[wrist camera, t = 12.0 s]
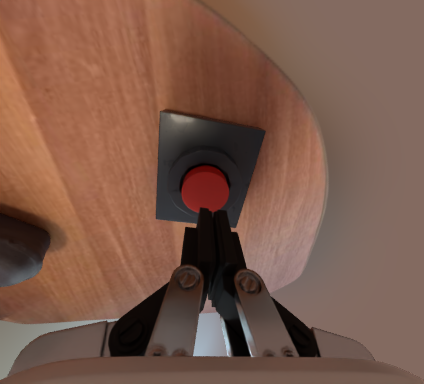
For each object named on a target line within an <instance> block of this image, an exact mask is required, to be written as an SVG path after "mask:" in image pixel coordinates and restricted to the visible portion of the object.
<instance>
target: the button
mask: <svg viewBox="0 0 424 384" xmlns="http://www.w3.org/2000/svg"><path fill="white" fill-rule="evenodd" d="M181 194H182V199H183V201H184V203H185V204H186V206H187V207H188V208H190V209H191V210H193V211H195V212H198V213H199V210H200V207H202V208H209V211H212V212H214V211H217V210H218V209H220V208H222V207H223V206H224V205H225V203H226V202H227V200H228V197H229V188H228V184H227V181H226V178H225V176H224V174H223V173H222V172H221V171H220V170H219V169H217V168H215V167H213V166H209V165H201V166H197V167H195V168H193V169H191V170H190V171H189V172H188V173H187V174H186V176H185V178H184V181H183V186H182V192H181Z"/></svg>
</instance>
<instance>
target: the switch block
mask: <svg viewBox="0 0 424 384" xmlns="http://www.w3.org/2000/svg"><path fill="white" fill-rule="evenodd" d="M265 132H266V131H265V130H263V129H261V128H258V127H253V126H248V125H242V124H237V123H232V122H227V121H221V120H216V119H211V118H206V117H200V116H195V115H190V114H185V113H179V112H174V111H169V110H162V111H160V124H159V149H158V174H157V199H156V219H158V220H167V221H176V222H186V223H195V224H197V221H198V215H199V213H198V212H195V211H193V210H191V209H190V208H188V207H187V206H186V204H185V203H184V201H183V199H182V194H181V192H182V186H183V181H184V178H185V176H186V174H187V173H188V172H189V171H190V170H191V169H193V168H195V167H197V166H201V165H209V166H213V167H215V168H217V169H219V170H220V171H221V172H222V173H223V174H224V176H225V178H226V181H227V184H228V188H229V197H228V200H227V202H226V203H225V205H224V206H223V207H222V208H220V209H219V210H226V211H227V214H228V219H229V224H230V227H232V228H236V226H237V223H238V220H239V216H240V213H241V210H242V207H243V203H244V200H245V197H246V194H247V190H248V187H249V184H250V181H251V177H252V174H253V171H254V168H255V164H256V161H257V158H258V155H259V151H260V148H261V145H262V142H263V138H264V135H265ZM216 212H217V211H216ZM213 213H214V212H212V217H213Z"/></svg>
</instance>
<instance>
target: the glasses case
mask: <svg viewBox="0 0 424 384" xmlns="http://www.w3.org/2000/svg"><path fill="white" fill-rule="evenodd" d="M49 245H50V236H49V234H48V233H47V232H46V231H44V230H42V229H40V228H38V227H36V226H33V225H30V224H27V223H25V222H22V221H19V220H17V219H14V218H11V217H8V216H6V215H3V214H1V213H0V287H5V286H11V285H14V284H17V283H20V282H22V281H25V280H27V279H30V278H32V277H34V276H35V275H36V274H37V273H38V272H39V271H40V270H41V268H42V264H43V259H44V256H45V253H46V251H47V250H48V248H49Z"/></svg>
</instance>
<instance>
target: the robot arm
mask: <svg viewBox="0 0 424 384" xmlns="http://www.w3.org/2000/svg"><path fill="white" fill-rule="evenodd" d="M207 294H208V300H212V307H216V311H217V312H218V313H219V314H220V321H221V326H222V330H223V335H224V340H225V344H226V349H227V353H228V357H215V356H214V357H210V356H205V357H204V356H203V357H202V356H193V352H194V345H195V338H196V332H197V325H198V318H199V313H200V312H201V311H202V310H203V308H204V305H205V301H206V298H207ZM0 384H424V380H423V379H421V378H420V377H418V376H416V375H414V374H411V373H410V372H407V371H405V370H403V369H400V368H398V367H396V366H393V365H390V364H386V363H383V362H378V361H375V359H374V357H373V356H372V354H371V353H370V352H369V351H368V350H367V349H366V347H364V346H363V345H362V344H361V343H359V342H357V341H355V340H353V339H350V338H347V337H343V336H340V335H337V334H334V333H330V332H327V331H324V330H321V329H317V328H314V327H312V328H311V329H309V328H308V327H307V326H306V325H305V324H304V323H303V322H301V321H300V320H299V319H298V318H297V317H295V316H294V315H293V314H292V313H290V312H289V311H288V310H287V309H286V308H285V307H283V306H282V305H281V304H280V303H278V302H277V301H276V300H275V299H274V298H272V297H271V296H270V294H269V292H268V290H267V288H266V286H265V284H264V281H263V280H262V278H261V277H260V276H259V275H258V274H257V273H256V272H254V271H253V270H250V269H247V267H246V263H245V259H244V256H243V252H242V248H241V244H240V240H239V236H238V233H237V232H231V228H230V224H229V219H228V214H227V211H226V210H219V209H218V210H217V212H216V211H214V213H213V217H212V211H209V208H202V207H200V210H199V215H198V221H197V226H196V228H191V227H185V233H184V241H183V248H182V257H181V265H180V266H179V267H177V268H176V269H175V270H174V272H173V274H172V276H171V279H170V281H169V282H168V283H167V284H165V285H164V286H163V287H161V288H160V289H159V290H157V291H156V292H155V293H153V294H152V295H151V296H149V297H148V298H147V299H145V300H144V301H142V302H141V303H140V304H138V305H137V306H136V307H134V308H133V309H132V310H130V311H129V312H128V313H126V314H125V315H124V316H122V317H121V318H120V319H119V320H118V321H114V322H109V323H108V322H107V321H103V322H97V323H93V324H88V325H83V326H78V327H74V328H69V329H64V330H59V331H54V332H50V333H47V334H44V335H41V336H39V337H37V338H36V339H34V340H33V341H31V342H30V343H29V344H28V345H27V346H26V347H25V348H24V349H23V350H22V351H21V352H20V354H19V355H18V357H17V358H16V360H15V362H14V364H13V366H12V368H11V370H10V372H9V374H8V376H7V377H6V378H4V379H2V380H0Z"/></svg>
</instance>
